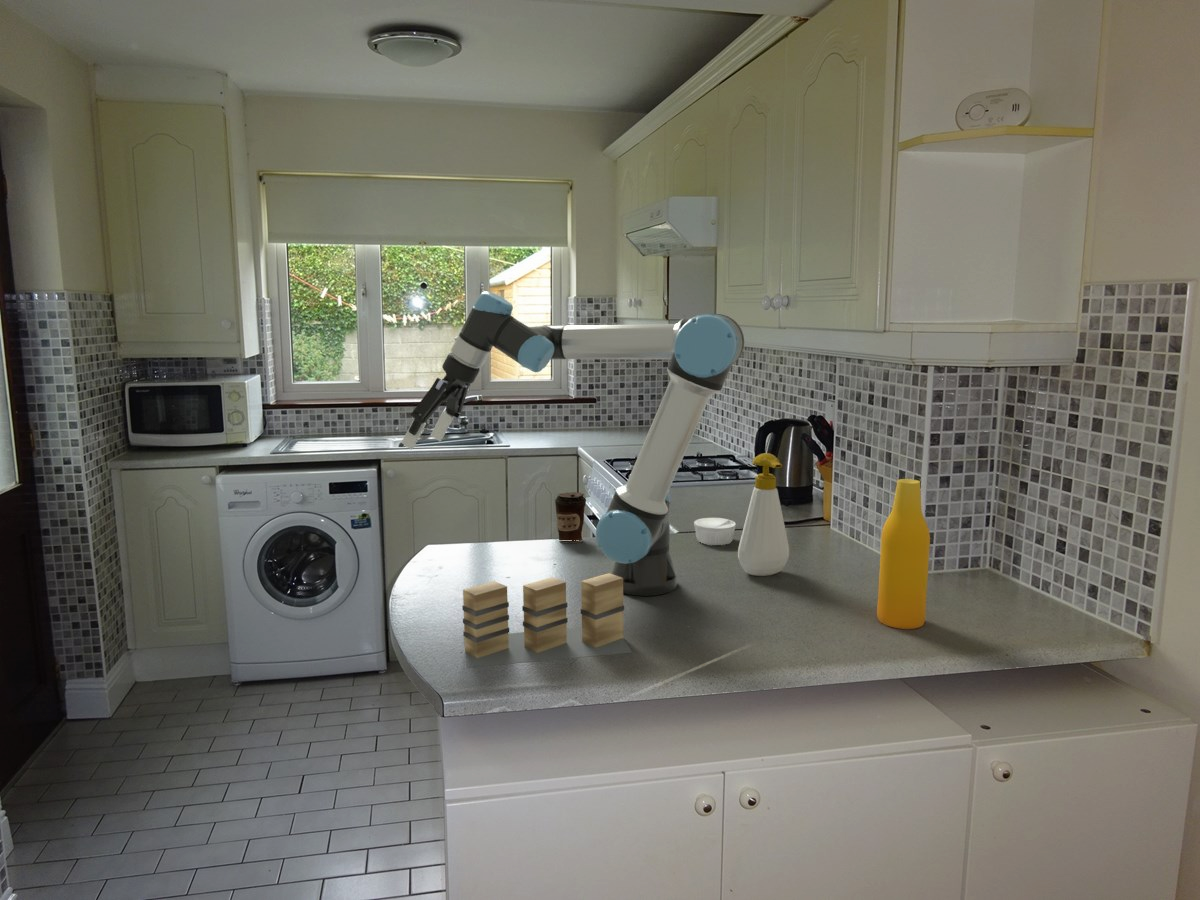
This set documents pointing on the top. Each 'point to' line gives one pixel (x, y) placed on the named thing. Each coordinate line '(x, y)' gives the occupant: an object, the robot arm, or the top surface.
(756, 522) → the soap bottle
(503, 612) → the striped wooden block
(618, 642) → the mat
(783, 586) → the top surface
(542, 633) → the wooden block
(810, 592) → the top surface
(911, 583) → the beer bottle
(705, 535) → the ramekin
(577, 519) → the coffee cup
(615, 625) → the banded wooden block
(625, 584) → the robot arm
